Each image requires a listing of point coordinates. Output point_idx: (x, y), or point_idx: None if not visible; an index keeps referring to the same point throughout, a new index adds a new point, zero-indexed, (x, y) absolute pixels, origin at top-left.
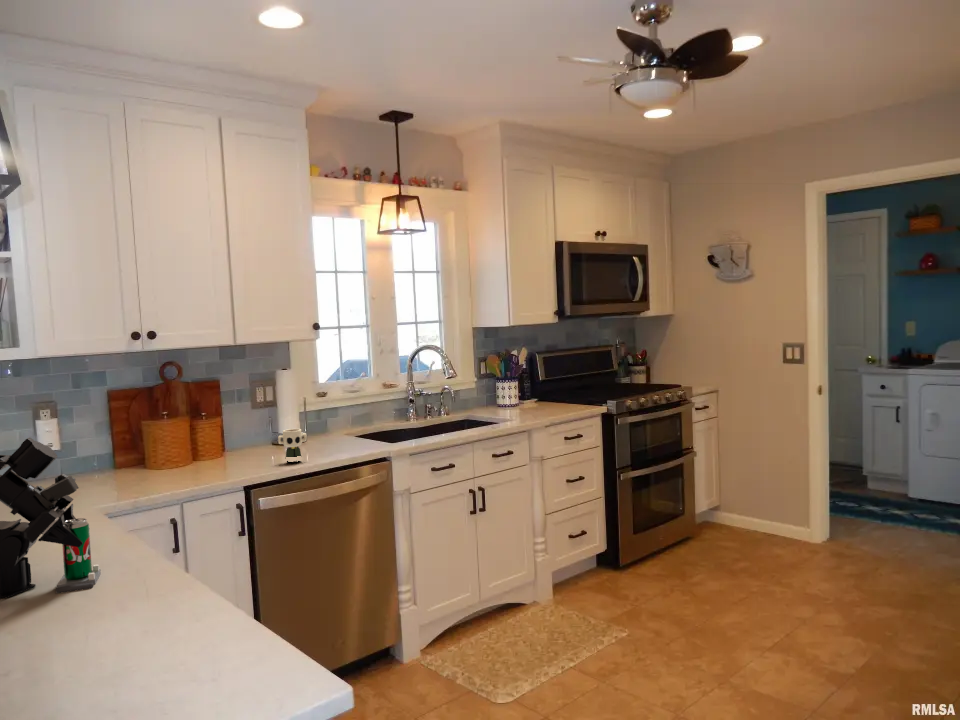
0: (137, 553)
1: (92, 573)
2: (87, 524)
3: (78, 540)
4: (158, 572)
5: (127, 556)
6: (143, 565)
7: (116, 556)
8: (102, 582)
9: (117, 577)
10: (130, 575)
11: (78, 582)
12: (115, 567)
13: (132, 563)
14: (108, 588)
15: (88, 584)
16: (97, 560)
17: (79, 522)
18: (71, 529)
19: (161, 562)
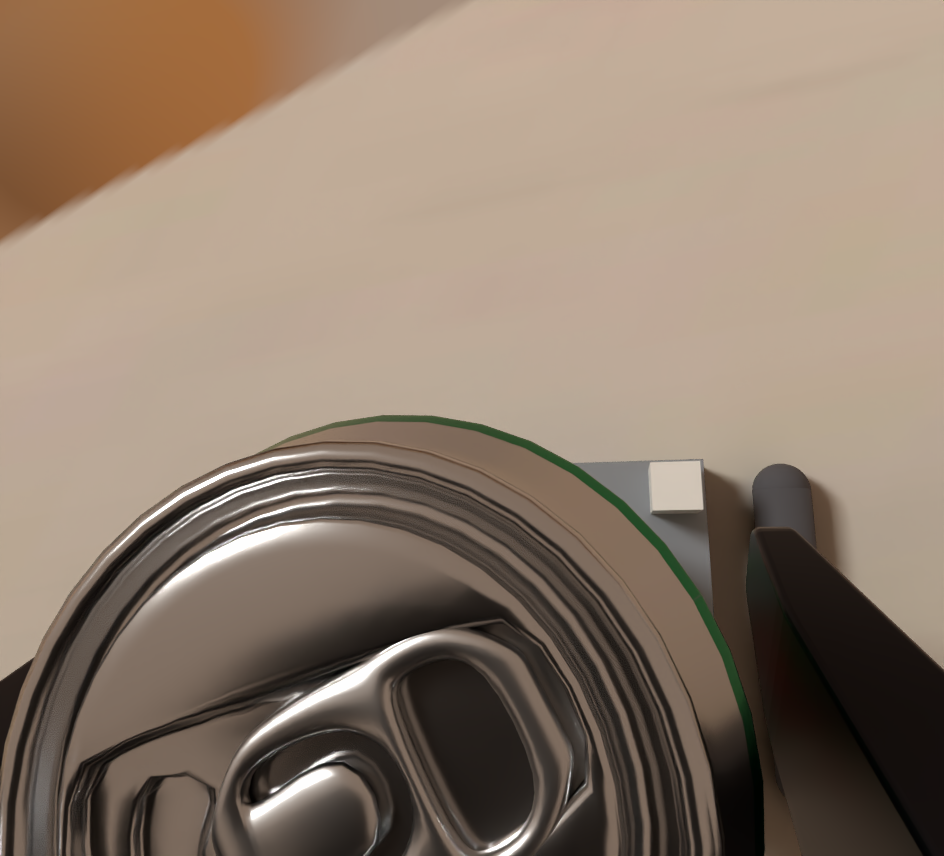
0: (39, 294)
1: (684, 474)
2: (441, 427)
3: (858, 591)
4: (596, 41)
5: (71, 352)
6: (358, 189)
7: (25, 433)
8: (664, 416)
9: (579, 321)
10: (573, 231)
11: (710, 599)
12: (300, 388)
13: (265, 280)
14: (866, 333)
15: (803, 498)
16: (44, 562)
17: (634, 610)
18: (758, 831)
19: (351, 78)
